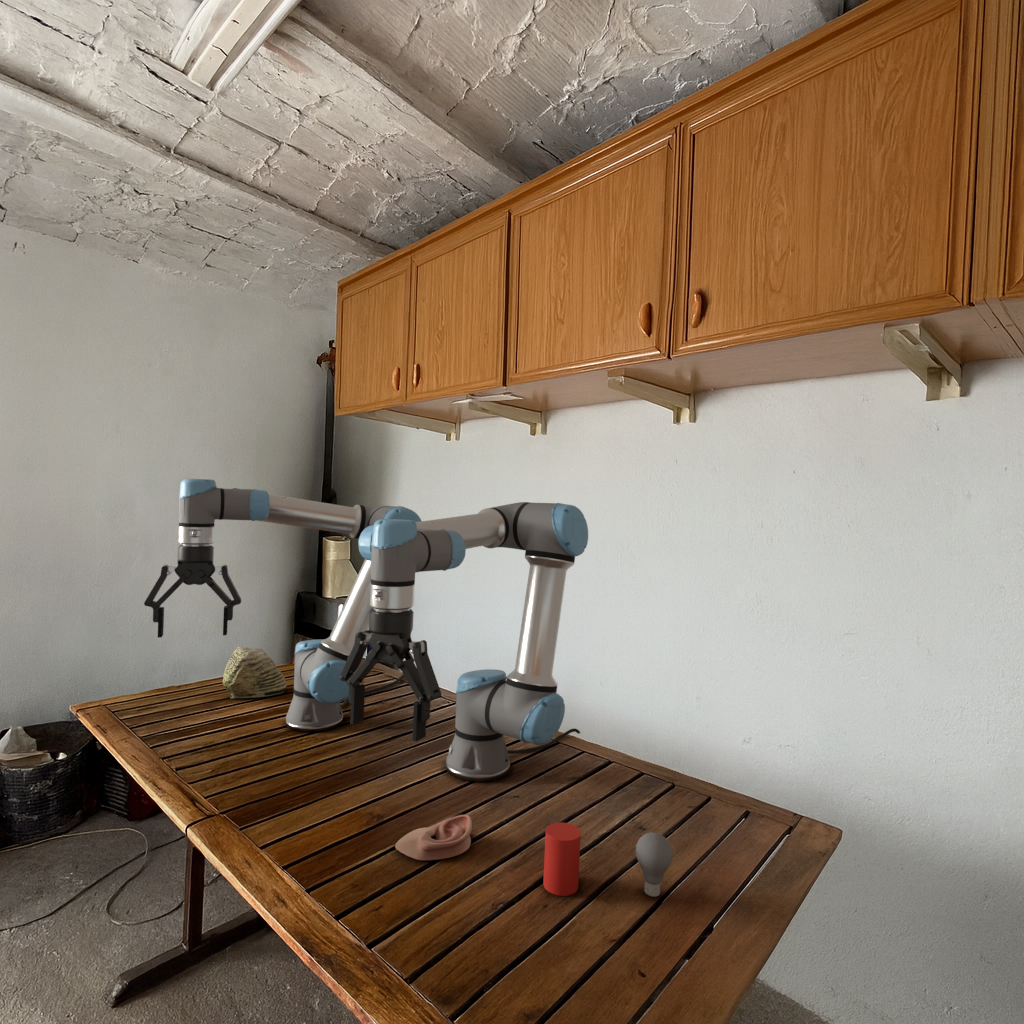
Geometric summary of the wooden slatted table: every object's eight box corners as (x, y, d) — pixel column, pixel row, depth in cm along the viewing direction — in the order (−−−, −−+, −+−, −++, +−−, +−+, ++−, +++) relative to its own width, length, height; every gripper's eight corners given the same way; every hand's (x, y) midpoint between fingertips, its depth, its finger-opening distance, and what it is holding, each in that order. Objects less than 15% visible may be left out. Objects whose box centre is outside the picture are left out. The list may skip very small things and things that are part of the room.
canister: (536, 886, 106) (539, 832, 106) (554, 870, 111) (557, 818, 111) (567, 900, 102) (569, 844, 102) (584, 883, 107) (587, 830, 107)
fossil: (218, 695, 195) (220, 647, 195) (278, 685, 208) (279, 640, 207) (228, 703, 189) (230, 653, 188) (289, 692, 201) (290, 645, 201)
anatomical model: (389, 833, 113) (412, 803, 124) (388, 855, 113) (411, 823, 124) (460, 844, 110) (477, 813, 121) (459, 867, 110) (476, 833, 121)
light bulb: (629, 883, 108) (632, 825, 107) (663, 883, 108) (666, 825, 108) (639, 906, 102) (642, 844, 101) (675, 905, 102) (678, 844, 102)
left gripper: (131, 545, 140) (128, 640, 140) (253, 546, 149) (250, 636, 149) (138, 542, 147) (135, 633, 147) (254, 544, 156) (251, 629, 156)
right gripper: (322, 603, 112) (317, 722, 112) (439, 621, 100) (434, 753, 101) (351, 598, 119) (347, 710, 119) (464, 614, 107) (459, 738, 107)
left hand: (193, 635), depth 148 cm, fingers open, 13 cm apart
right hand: (387, 730), depth 110 cm, fingers open, 13 cm apart
